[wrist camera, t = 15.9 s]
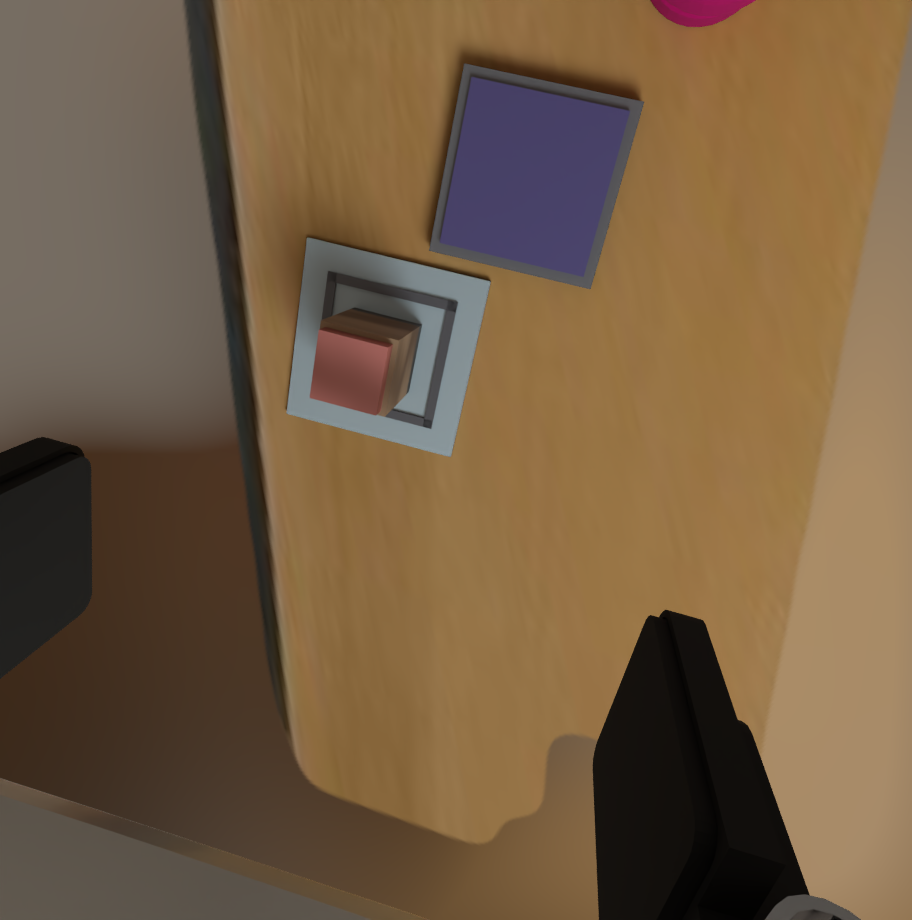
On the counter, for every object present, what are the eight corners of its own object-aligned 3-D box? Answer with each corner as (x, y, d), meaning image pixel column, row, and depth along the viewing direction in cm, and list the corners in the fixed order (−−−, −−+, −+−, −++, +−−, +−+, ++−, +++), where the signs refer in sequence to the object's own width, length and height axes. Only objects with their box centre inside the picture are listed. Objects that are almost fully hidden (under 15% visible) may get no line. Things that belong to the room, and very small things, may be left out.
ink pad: (467, 67, 36) (463, 62, 34) (642, 105, 35) (644, 100, 34) (432, 250, 39) (428, 250, 38) (589, 287, 39) (590, 289, 37)
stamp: (354, 307, 41) (314, 322, 35) (422, 324, 41) (394, 343, 34) (344, 374, 43) (303, 401, 36) (408, 391, 43) (380, 422, 36)
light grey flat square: (308, 237, 40) (305, 237, 40) (490, 281, 39) (489, 281, 39) (288, 412, 45) (285, 414, 44) (451, 455, 44) (450, 457, 43)
